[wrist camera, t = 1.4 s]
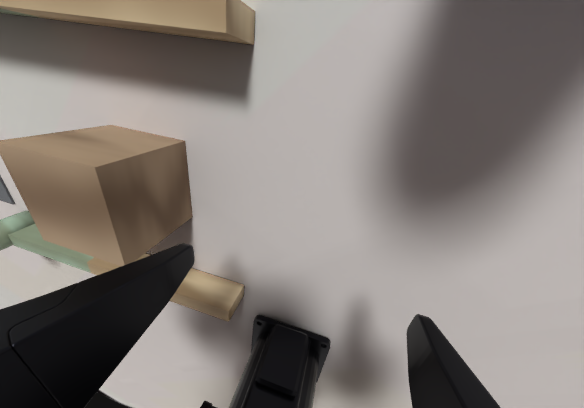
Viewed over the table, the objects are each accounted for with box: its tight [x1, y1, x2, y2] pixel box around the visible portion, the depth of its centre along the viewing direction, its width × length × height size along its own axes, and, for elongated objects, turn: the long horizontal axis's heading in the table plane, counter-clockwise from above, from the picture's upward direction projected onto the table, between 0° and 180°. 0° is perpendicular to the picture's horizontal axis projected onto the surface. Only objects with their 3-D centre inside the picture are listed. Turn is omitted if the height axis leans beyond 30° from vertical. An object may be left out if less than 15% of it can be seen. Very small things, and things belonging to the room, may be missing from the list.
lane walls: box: [0, 0, 255, 322], centre depth 14 cm, size 20×24×4 cm
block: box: [0, 125, 193, 266], centre depth 13 cm, size 6×6×6 cm
